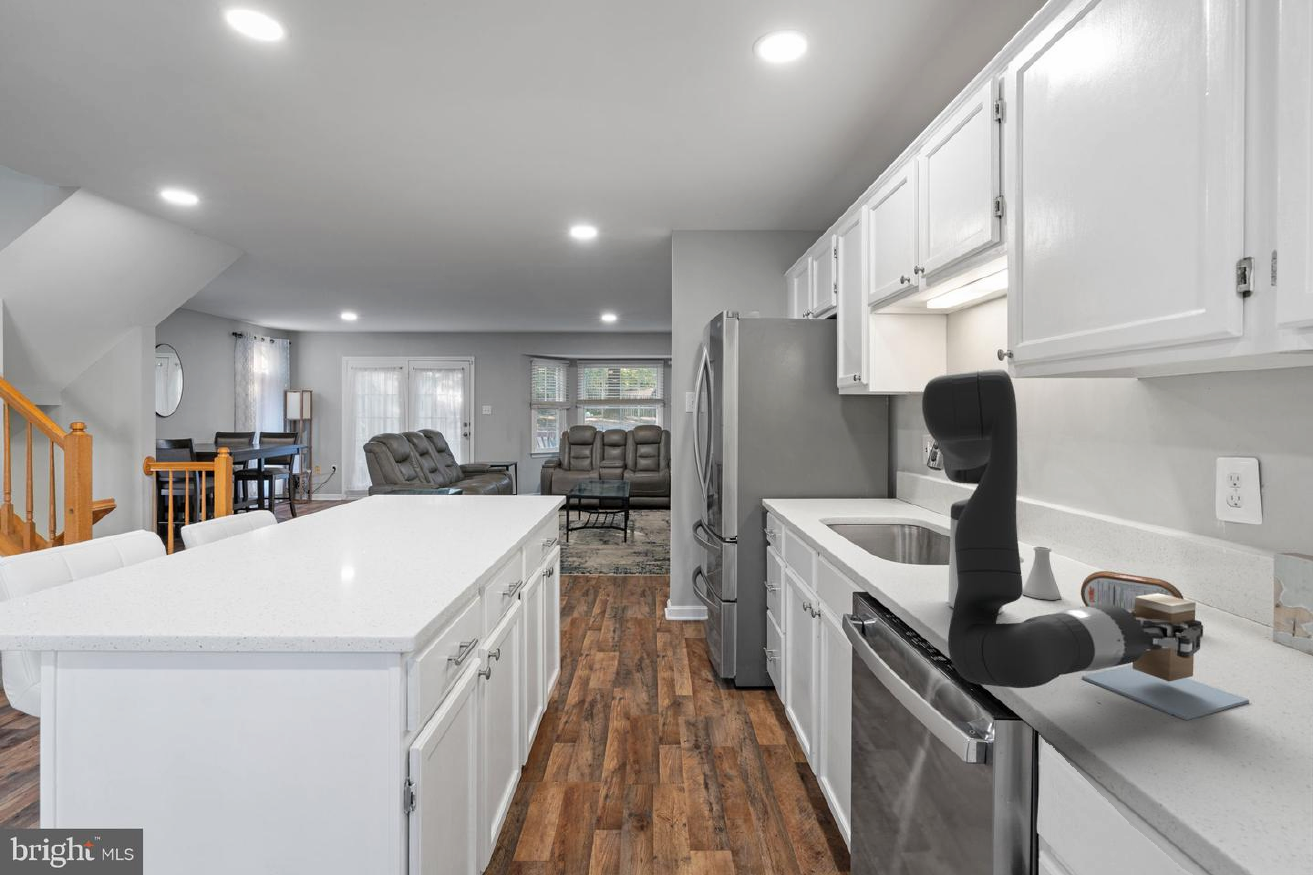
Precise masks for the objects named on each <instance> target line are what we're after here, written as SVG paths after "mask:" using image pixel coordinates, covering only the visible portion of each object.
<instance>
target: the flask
mask: <svg viewBox="0 0 1313 875" xmlns="http://www.w3.org/2000/svg"><path fill="white" fill-rule="evenodd" d="M1032 548H1033V550H1034V559H1033V564H1032V566H1031V569H1030V571H1029V572H1028V573H1029V574H1028V576H1027V578H1026V581H1025V583H1024V585H1023V591H1022V595H1023V596H1027V597H1031V598H1033V599H1040V600H1041V599H1042V600H1050V601H1054V600H1059V599H1062V595H1061V592H1060V589H1059V587H1058V584H1057V581H1056V579H1055V576H1054V573H1053V569H1052V566H1051V561H1050V553H1051V552H1052V548H1051V547H1049V546H1043V545H1042V546H1039V545H1036V546H1033V547H1032Z"/></svg>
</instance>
